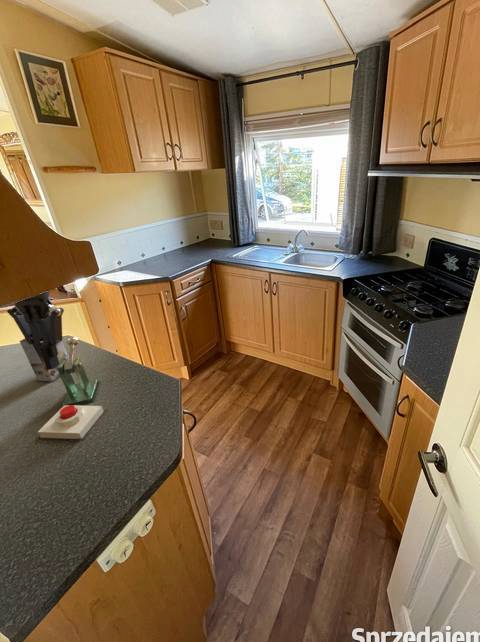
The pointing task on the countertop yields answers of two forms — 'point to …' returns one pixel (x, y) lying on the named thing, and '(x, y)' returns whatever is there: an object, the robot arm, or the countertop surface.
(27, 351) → the coffee box
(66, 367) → the lever
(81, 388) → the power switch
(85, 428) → the white button base
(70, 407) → the stop button
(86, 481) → the countertop surface
